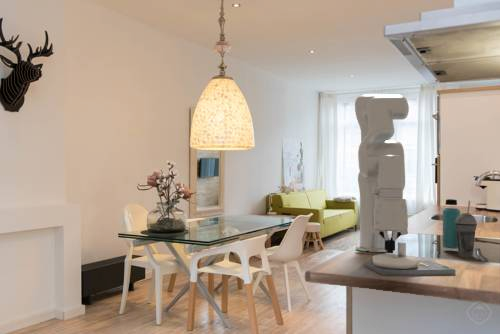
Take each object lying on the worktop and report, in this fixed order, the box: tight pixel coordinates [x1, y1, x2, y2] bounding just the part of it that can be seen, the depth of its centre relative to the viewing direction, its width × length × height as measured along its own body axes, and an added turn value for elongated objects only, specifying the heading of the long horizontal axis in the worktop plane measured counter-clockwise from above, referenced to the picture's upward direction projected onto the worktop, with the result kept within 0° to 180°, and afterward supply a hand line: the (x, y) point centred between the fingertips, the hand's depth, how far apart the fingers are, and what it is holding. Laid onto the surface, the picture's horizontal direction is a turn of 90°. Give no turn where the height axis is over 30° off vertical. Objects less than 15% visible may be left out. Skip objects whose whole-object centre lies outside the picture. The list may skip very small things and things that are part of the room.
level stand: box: [363, 259, 456, 277], centre depth 139 cm, size 15×22×2 cm
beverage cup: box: [455, 200, 478, 258], centre depth 166 cm, size 7×7×20 cm
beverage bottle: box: [441, 198, 461, 250], centre depth 177 cm, size 6×7×20 cm
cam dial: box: [372, 241, 419, 269], centre depth 139 cm, size 13×13×6 cm
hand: (389, 252), depth 144 cm, fingers closed
